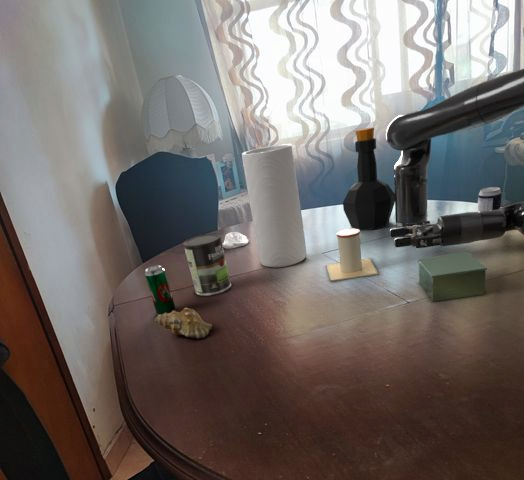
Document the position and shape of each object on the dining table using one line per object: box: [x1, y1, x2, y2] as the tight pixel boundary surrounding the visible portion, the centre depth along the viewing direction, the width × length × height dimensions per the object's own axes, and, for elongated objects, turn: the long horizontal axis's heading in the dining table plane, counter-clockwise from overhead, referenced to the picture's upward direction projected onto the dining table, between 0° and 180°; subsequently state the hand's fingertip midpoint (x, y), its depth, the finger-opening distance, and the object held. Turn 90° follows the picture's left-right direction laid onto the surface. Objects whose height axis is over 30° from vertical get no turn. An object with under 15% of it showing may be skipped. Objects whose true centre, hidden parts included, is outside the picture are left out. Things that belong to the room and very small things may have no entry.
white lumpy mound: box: [222, 231, 249, 249], centre depth 163 cm, size 10×4×10 cm
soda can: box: [144, 264, 177, 315], centre depth 117 cm, size 5×5×12 cm
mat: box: [326, 258, 379, 282], centre depth 123 cm, size 12×12×1 cm
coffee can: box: [182, 233, 232, 297], centre depth 126 cm, size 10×10×14 cm
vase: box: [241, 143, 307, 269], centre depth 132 cm, size 14×14×32 cm
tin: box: [417, 251, 488, 303], centre depth 101 cm, size 11×11×6 cm
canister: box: [336, 228, 362, 273], centre depth 121 cm, size 6×6×10 cm
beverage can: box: [476, 186, 503, 212], centre depth 127 cm, size 6×6×12 cm
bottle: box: [342, 126, 395, 231], centre depth 150 cm, size 16×16×30 cm
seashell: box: [154, 307, 213, 339], centre depth 105 cm, size 9×8×10 cm
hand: (392, 238), depth 118 cm, fingers open, 8 cm apart
